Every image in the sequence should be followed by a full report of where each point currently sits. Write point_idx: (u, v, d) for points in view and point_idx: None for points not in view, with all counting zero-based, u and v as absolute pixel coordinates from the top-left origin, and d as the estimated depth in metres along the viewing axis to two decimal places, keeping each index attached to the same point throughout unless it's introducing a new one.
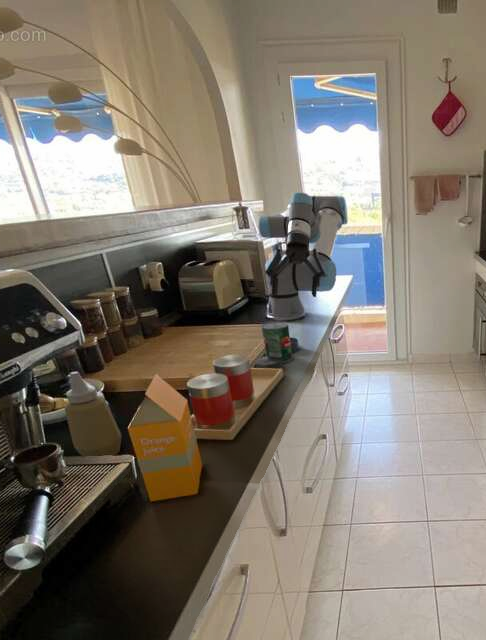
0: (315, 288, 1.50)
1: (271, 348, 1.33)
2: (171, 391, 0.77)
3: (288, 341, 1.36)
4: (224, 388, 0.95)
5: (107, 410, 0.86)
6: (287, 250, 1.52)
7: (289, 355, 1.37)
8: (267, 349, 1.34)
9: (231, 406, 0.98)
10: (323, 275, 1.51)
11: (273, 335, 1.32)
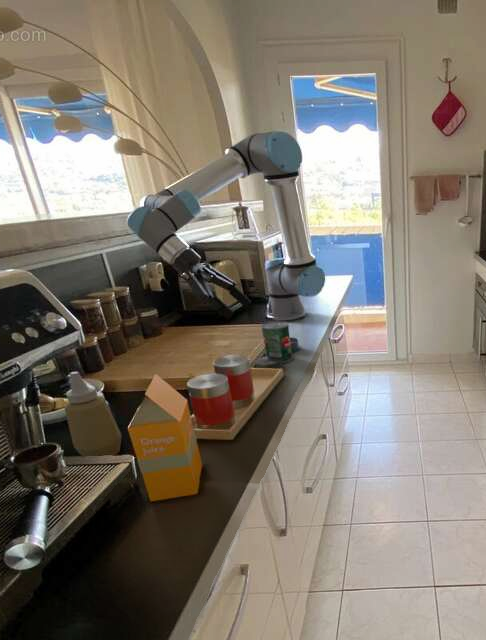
0: (223, 309, 1.26)
1: (271, 348, 1.33)
2: (171, 391, 0.77)
3: (288, 341, 1.36)
4: (224, 388, 0.95)
5: (107, 410, 0.86)
6: None
7: (289, 355, 1.37)
8: (267, 349, 1.34)
9: (231, 406, 0.98)
10: (205, 299, 1.23)
11: (273, 335, 1.32)
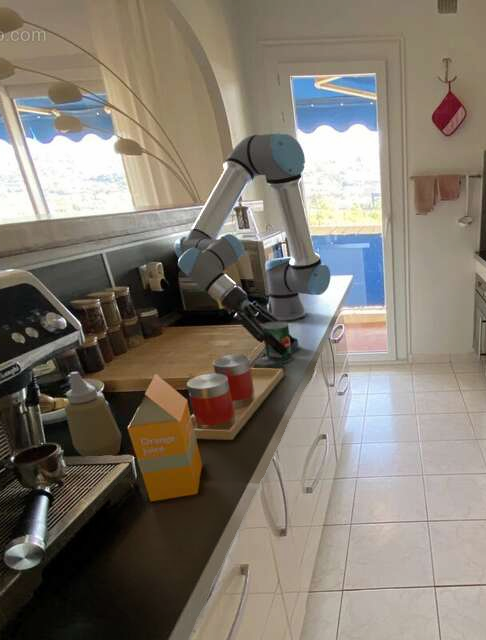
0: (277, 346, 1.32)
1: (271, 348, 1.33)
2: (171, 391, 0.77)
3: (288, 341, 1.36)
4: (224, 388, 0.95)
5: (107, 410, 0.86)
6: None
7: (289, 355, 1.37)
8: (267, 349, 1.34)
9: (231, 406, 0.98)
10: (262, 338, 1.29)
11: (273, 335, 1.32)
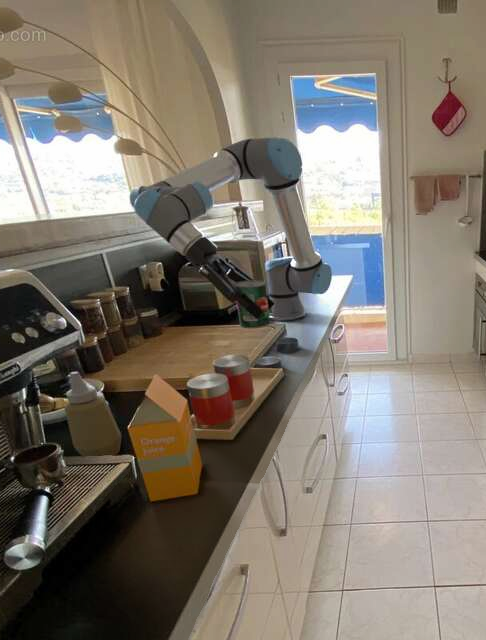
0: (252, 308, 1.13)
1: (245, 310, 1.14)
2: (171, 391, 0.77)
3: (265, 302, 1.17)
4: (224, 388, 0.95)
5: (107, 410, 0.86)
6: None
7: (266, 320, 1.18)
8: (240, 311, 1.15)
9: (231, 406, 0.98)
10: (233, 297, 1.10)
11: (247, 294, 1.13)
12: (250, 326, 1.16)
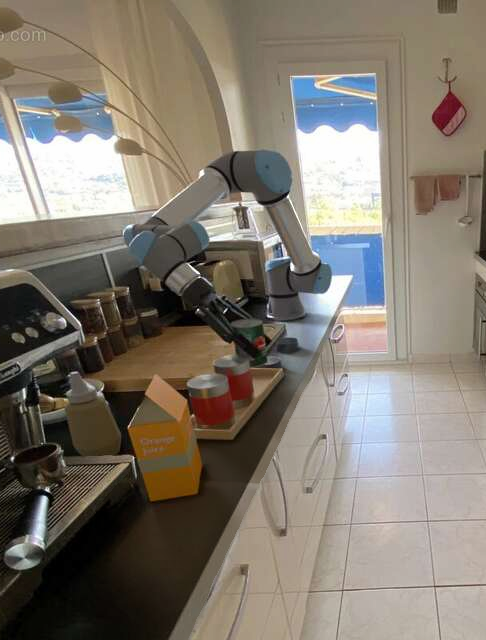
0: (249, 348, 1.12)
1: (242, 350, 1.13)
2: (171, 391, 0.77)
3: (262, 341, 1.15)
4: (224, 388, 0.95)
5: (107, 410, 0.86)
6: None
7: (264, 358, 1.17)
8: (237, 351, 1.14)
9: (231, 406, 0.98)
10: (230, 338, 1.09)
11: (244, 335, 1.11)
12: None
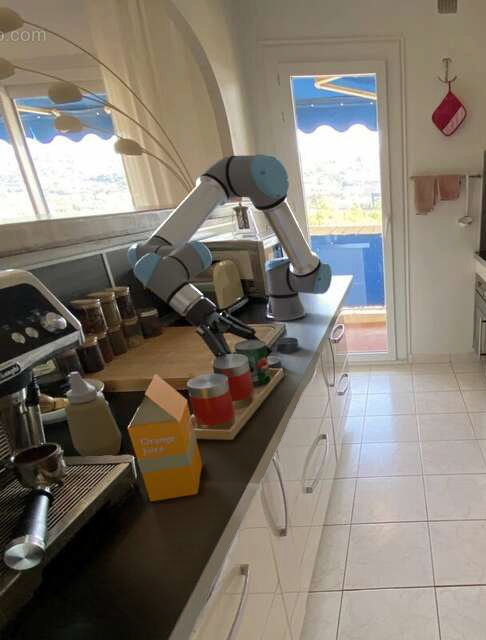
0: None
1: None
2: (171, 391, 0.77)
3: (266, 362, 1.18)
4: (224, 388, 0.95)
5: (107, 410, 0.86)
6: None
7: (267, 378, 1.19)
8: None
9: (231, 406, 0.98)
10: None
11: (248, 356, 1.14)
12: None
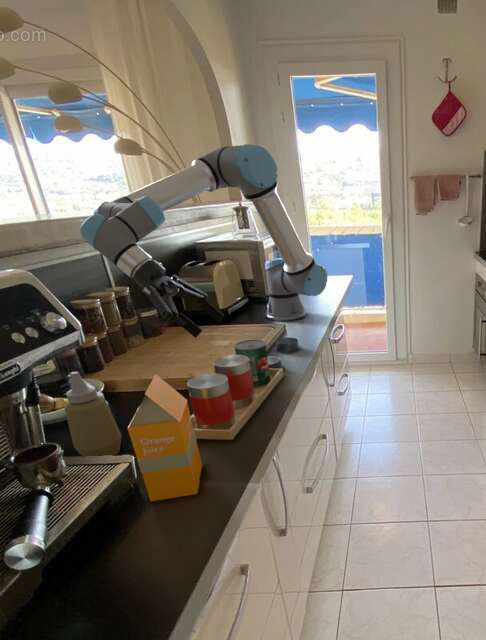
0: (190, 327, 1.13)
1: None
2: (171, 391, 0.77)
3: (266, 362, 1.18)
4: (224, 388, 0.95)
5: (107, 410, 0.86)
6: None
7: (267, 378, 1.19)
8: None
9: (231, 406, 0.98)
10: (169, 317, 1.10)
11: (248, 356, 1.14)
12: None
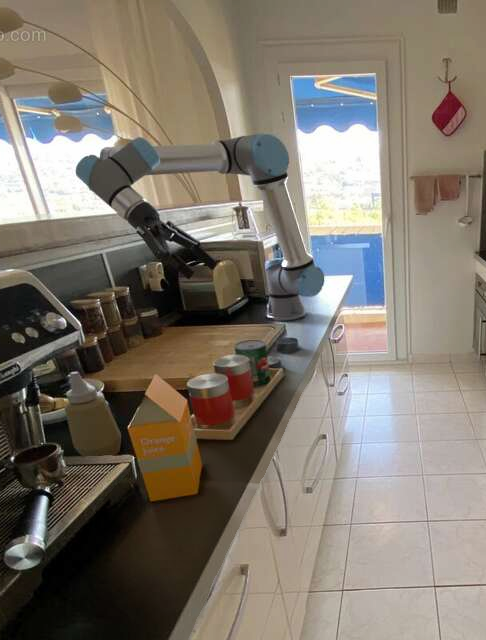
0: (183, 268, 1.15)
1: None
2: (171, 391, 0.77)
3: (266, 362, 1.18)
4: (224, 388, 0.95)
5: (107, 410, 0.86)
6: None
7: (267, 378, 1.19)
8: None
9: (231, 406, 0.98)
10: (162, 256, 1.12)
11: (248, 356, 1.14)
12: None
